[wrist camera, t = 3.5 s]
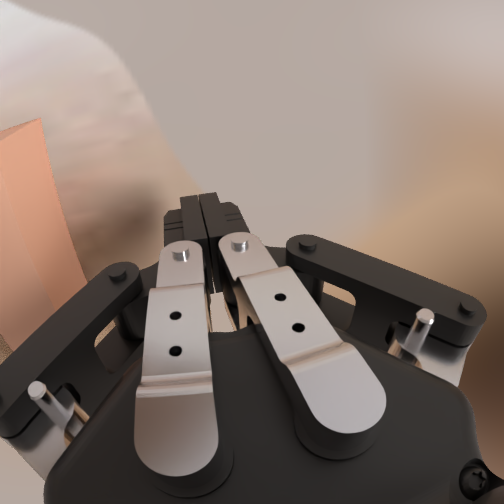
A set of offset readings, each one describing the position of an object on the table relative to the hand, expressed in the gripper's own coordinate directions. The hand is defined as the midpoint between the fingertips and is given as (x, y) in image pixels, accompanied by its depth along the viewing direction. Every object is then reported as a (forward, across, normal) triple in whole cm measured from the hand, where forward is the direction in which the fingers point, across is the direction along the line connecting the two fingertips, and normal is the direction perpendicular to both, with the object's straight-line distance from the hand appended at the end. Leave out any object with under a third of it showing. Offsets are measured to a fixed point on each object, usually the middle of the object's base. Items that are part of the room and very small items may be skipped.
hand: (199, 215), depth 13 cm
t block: (+3, +12, 0) cm, 13 cm away
